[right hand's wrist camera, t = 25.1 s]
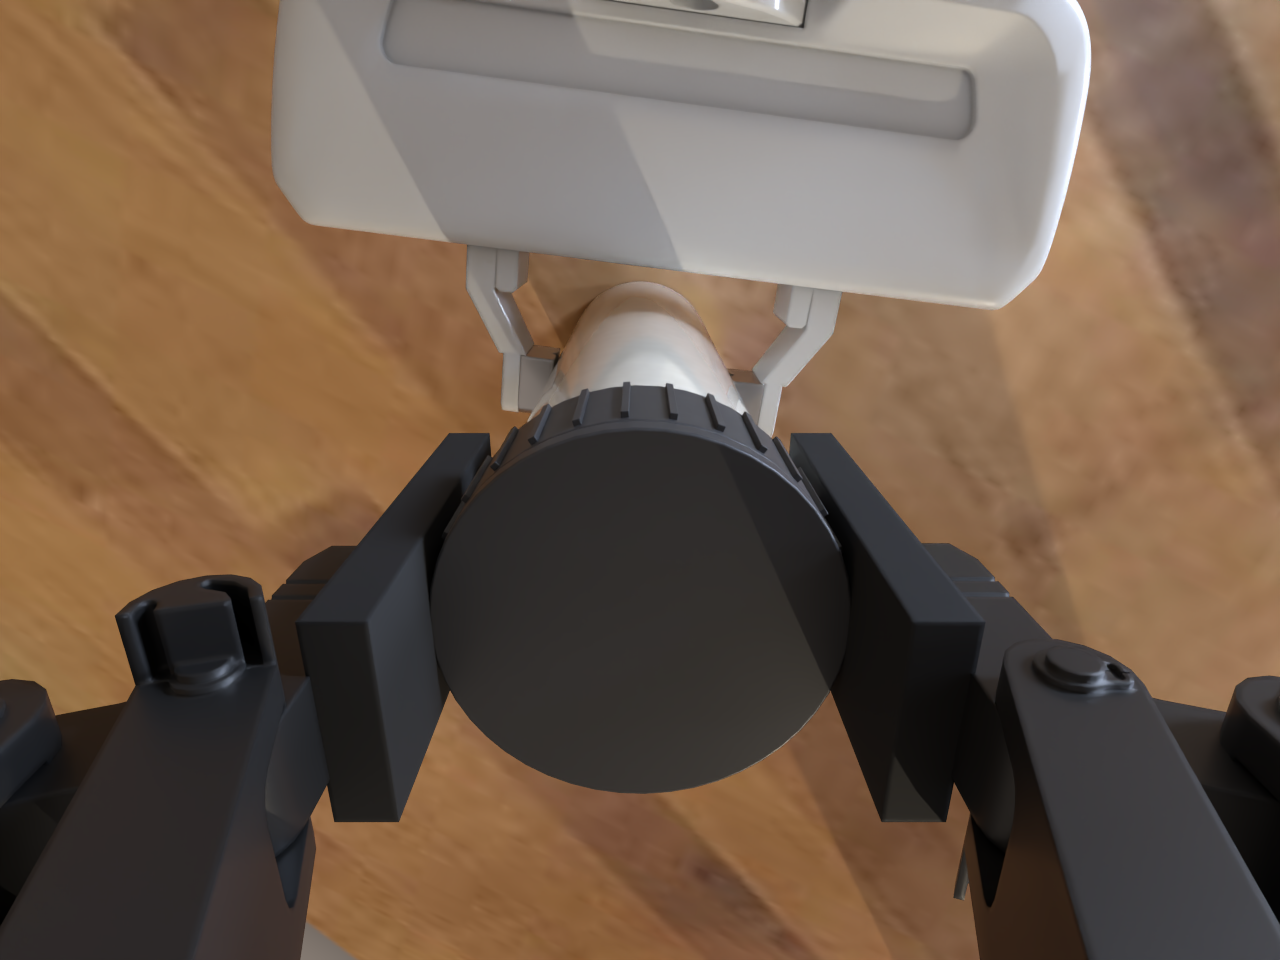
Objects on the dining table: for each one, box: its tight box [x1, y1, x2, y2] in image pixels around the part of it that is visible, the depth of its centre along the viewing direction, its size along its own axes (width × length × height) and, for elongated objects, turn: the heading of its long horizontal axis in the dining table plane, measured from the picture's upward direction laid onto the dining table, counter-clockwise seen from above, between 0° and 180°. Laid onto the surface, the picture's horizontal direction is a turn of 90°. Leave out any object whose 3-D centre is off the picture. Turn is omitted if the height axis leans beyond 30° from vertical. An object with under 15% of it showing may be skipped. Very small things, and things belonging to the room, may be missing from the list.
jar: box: [526, 281, 749, 423], centre depth 19 cm, size 5×5×18 cm
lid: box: [429, 382, 851, 794], centre depth 11 cm, size 6×6×2 cm
